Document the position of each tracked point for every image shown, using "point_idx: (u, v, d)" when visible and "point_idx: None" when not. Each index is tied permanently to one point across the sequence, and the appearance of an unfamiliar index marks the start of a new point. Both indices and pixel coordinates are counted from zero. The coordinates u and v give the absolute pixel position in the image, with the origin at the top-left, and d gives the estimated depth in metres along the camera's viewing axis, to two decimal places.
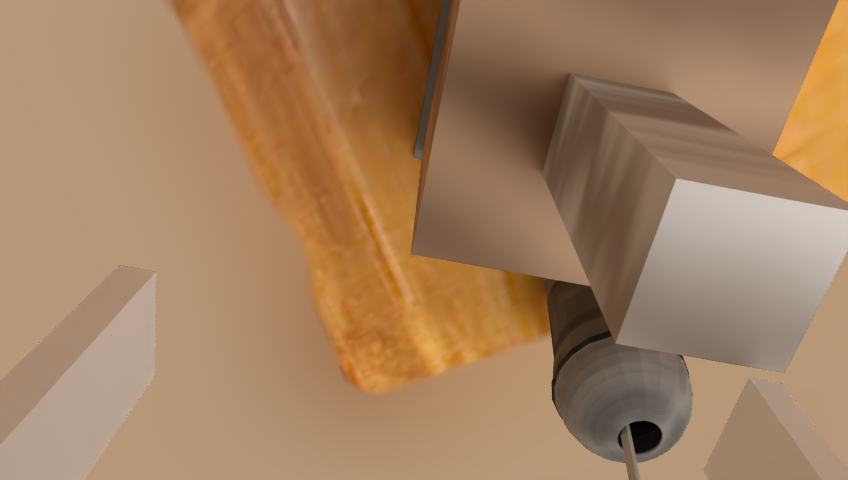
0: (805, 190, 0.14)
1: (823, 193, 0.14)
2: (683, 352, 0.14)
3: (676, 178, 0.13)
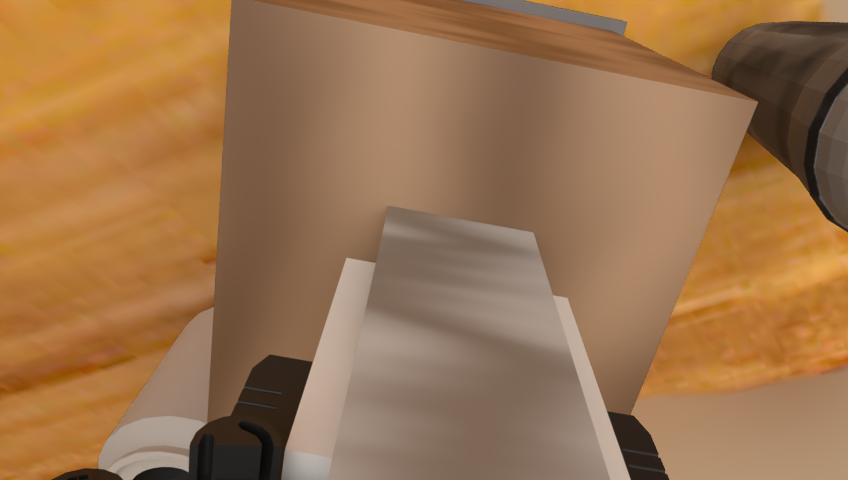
0: None
1: None
2: None
3: None
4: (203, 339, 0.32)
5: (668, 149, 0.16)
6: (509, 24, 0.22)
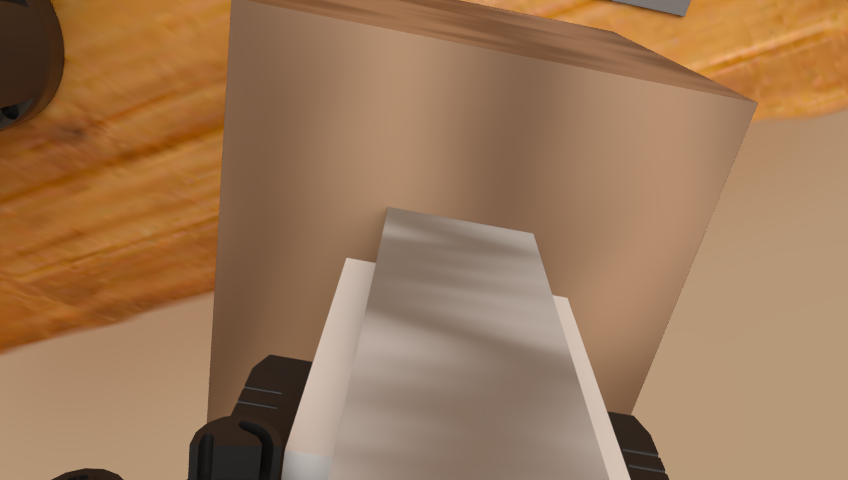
0: None
1: None
2: None
3: None
4: None
5: (668, 150, 0.16)
6: (509, 25, 0.22)
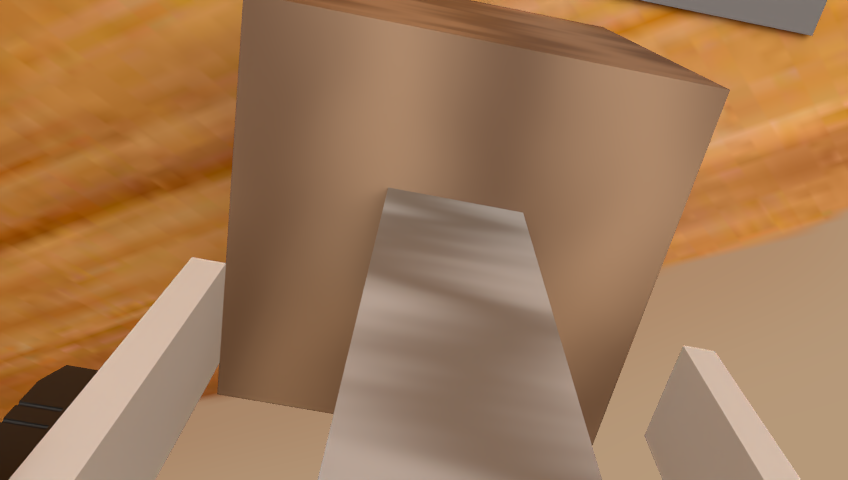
0: None
1: None
2: None
3: None
4: None
5: (647, 134, 0.18)
6: (502, 20, 0.24)
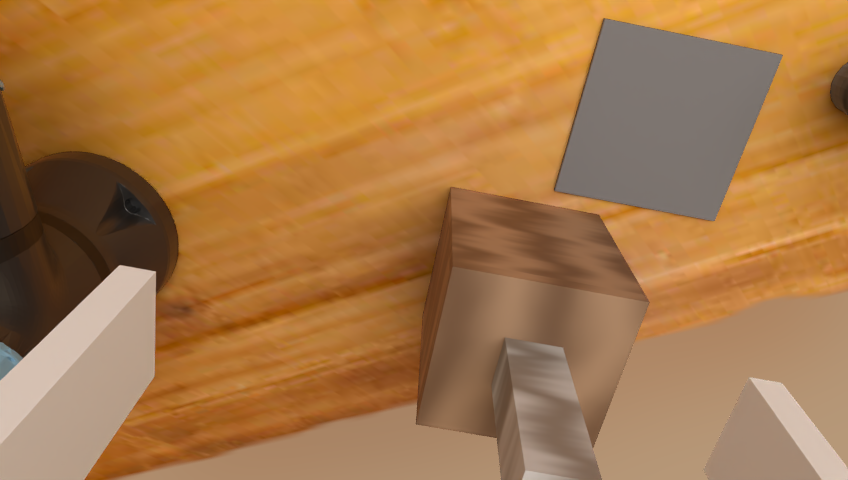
0: (519, 466, 0.33)
1: (521, 459, 0.33)
2: None
3: None
4: None
5: (616, 318, 0.42)
6: (548, 238, 0.48)
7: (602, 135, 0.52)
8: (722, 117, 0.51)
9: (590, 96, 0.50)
